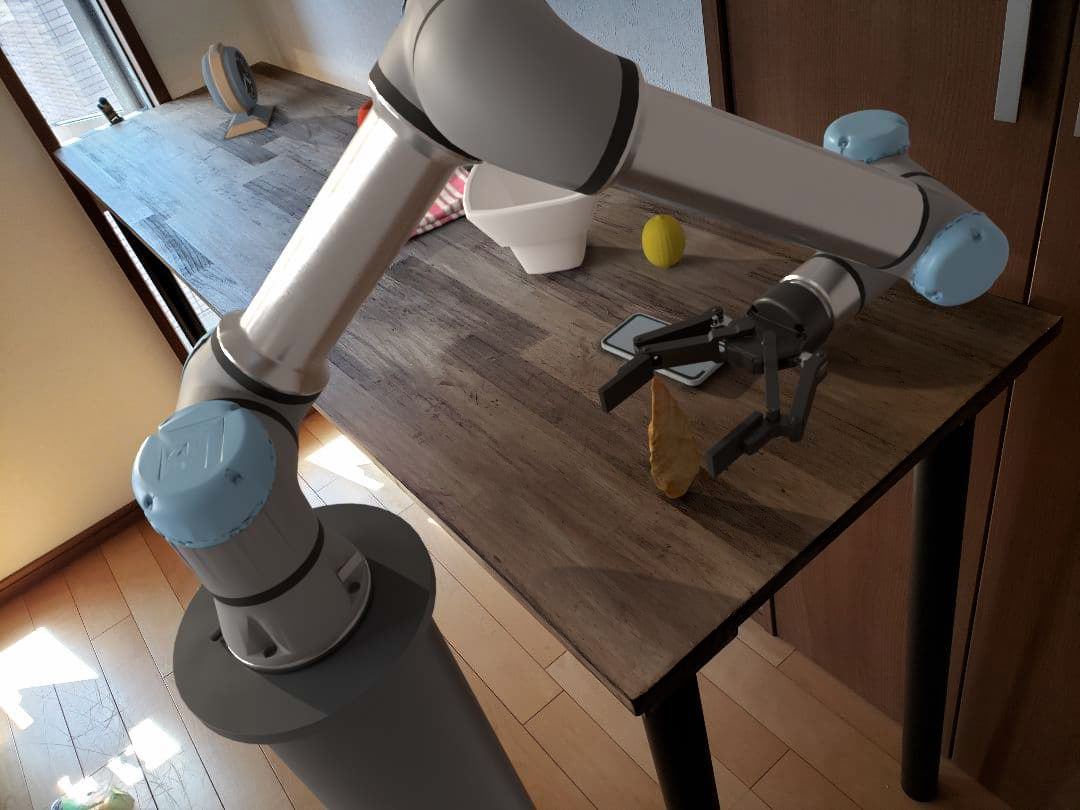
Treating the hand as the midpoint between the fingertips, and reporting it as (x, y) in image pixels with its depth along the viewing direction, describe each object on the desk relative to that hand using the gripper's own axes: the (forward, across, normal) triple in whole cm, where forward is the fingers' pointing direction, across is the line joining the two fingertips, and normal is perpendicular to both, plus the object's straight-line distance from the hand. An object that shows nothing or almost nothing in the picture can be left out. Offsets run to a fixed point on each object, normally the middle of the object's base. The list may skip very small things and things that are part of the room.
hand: (652, 432), depth 76 cm
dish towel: (-20, +76, -10) cm, 79 cm away
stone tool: (-2, 0, -10) cm, 10 cm away
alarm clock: (-22, +153, -10) cm, 155 cm away
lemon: (-30, +28, -10) cm, 42 cm away
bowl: (-23, +43, -10) cm, 50 cm away
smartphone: (-17, +16, -10) cm, 25 cm away
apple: (-30, +101, -10) cm, 106 cm away
